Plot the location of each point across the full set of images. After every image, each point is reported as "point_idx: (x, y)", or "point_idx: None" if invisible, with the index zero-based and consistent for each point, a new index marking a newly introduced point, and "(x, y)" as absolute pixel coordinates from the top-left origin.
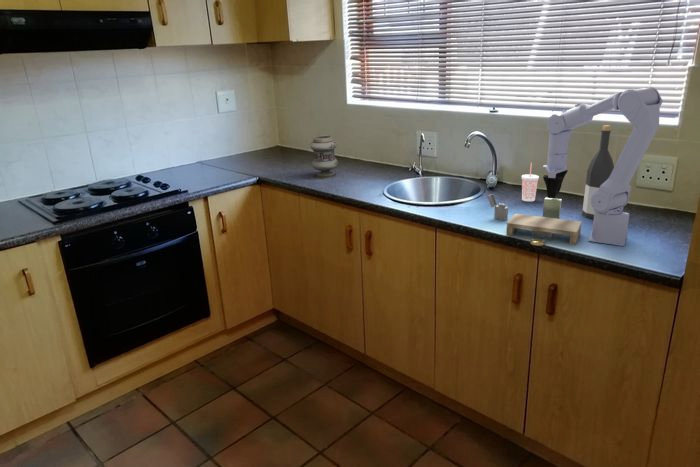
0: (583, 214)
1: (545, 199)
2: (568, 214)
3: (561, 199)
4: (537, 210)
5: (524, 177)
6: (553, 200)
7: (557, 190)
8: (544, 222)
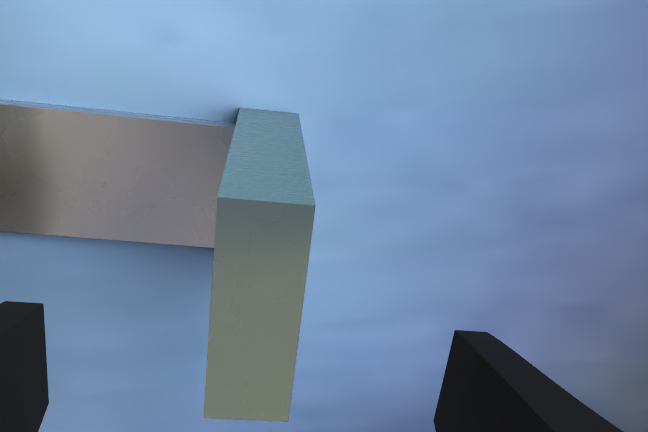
0: None
1: (219, 212)
2: (538, 313)
3: (277, 418)
4: (637, 23)
5: None
6: (209, 324)
7: (448, 418)
8: None
